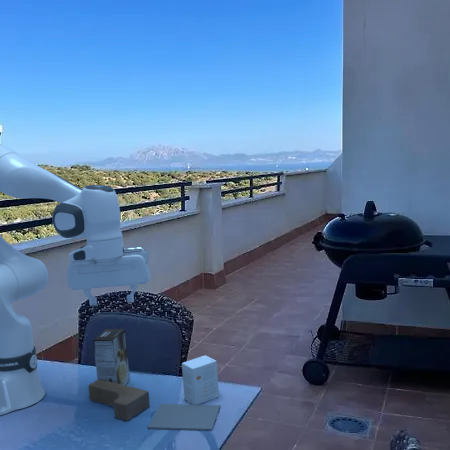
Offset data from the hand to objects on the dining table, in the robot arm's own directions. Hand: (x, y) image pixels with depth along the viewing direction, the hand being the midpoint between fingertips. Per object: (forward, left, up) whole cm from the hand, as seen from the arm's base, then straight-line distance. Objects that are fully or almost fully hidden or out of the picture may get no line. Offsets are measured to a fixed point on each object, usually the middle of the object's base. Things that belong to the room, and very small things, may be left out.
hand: (112, 303), depth 136 cm
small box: (+19, +9, -30) cm, 37 cm away
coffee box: (-8, +16, -30) cm, 34 cm away
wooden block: (+5, 0, -27) cm, 28 cm away
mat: (+17, -1, -29) cm, 34 cm away
